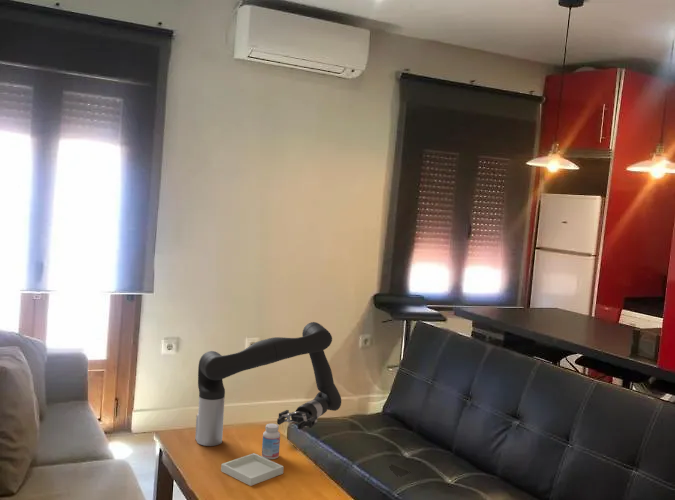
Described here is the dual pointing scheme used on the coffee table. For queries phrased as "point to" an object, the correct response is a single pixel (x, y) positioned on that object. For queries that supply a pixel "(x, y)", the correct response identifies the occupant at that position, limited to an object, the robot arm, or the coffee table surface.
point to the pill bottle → (271, 442)
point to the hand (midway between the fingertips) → (288, 424)
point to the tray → (252, 469)
